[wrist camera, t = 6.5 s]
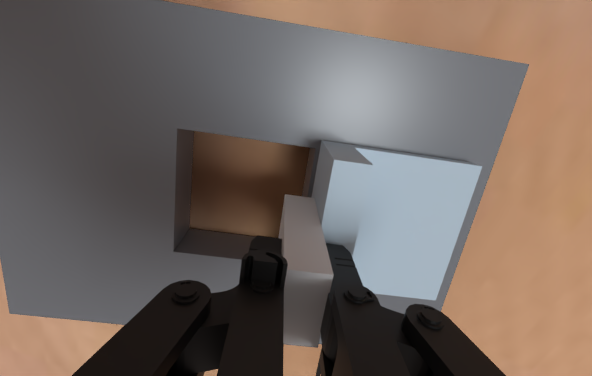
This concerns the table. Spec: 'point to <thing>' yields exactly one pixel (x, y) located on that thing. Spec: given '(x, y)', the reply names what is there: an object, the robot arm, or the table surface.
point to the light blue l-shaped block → (393, 213)
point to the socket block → (180, 136)
